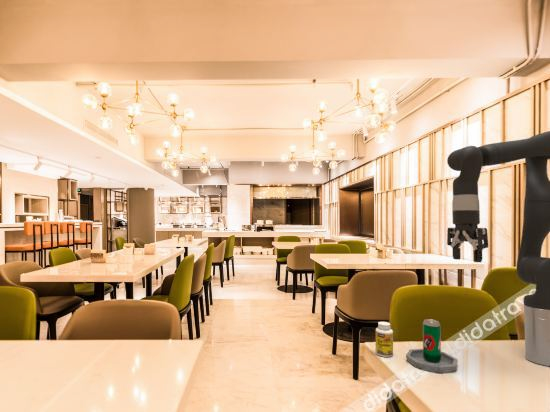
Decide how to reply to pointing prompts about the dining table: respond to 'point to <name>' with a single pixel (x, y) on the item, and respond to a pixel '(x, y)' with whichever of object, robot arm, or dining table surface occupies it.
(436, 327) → the soda can
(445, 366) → the dish
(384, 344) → the supplement bottle
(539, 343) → the robot arm
